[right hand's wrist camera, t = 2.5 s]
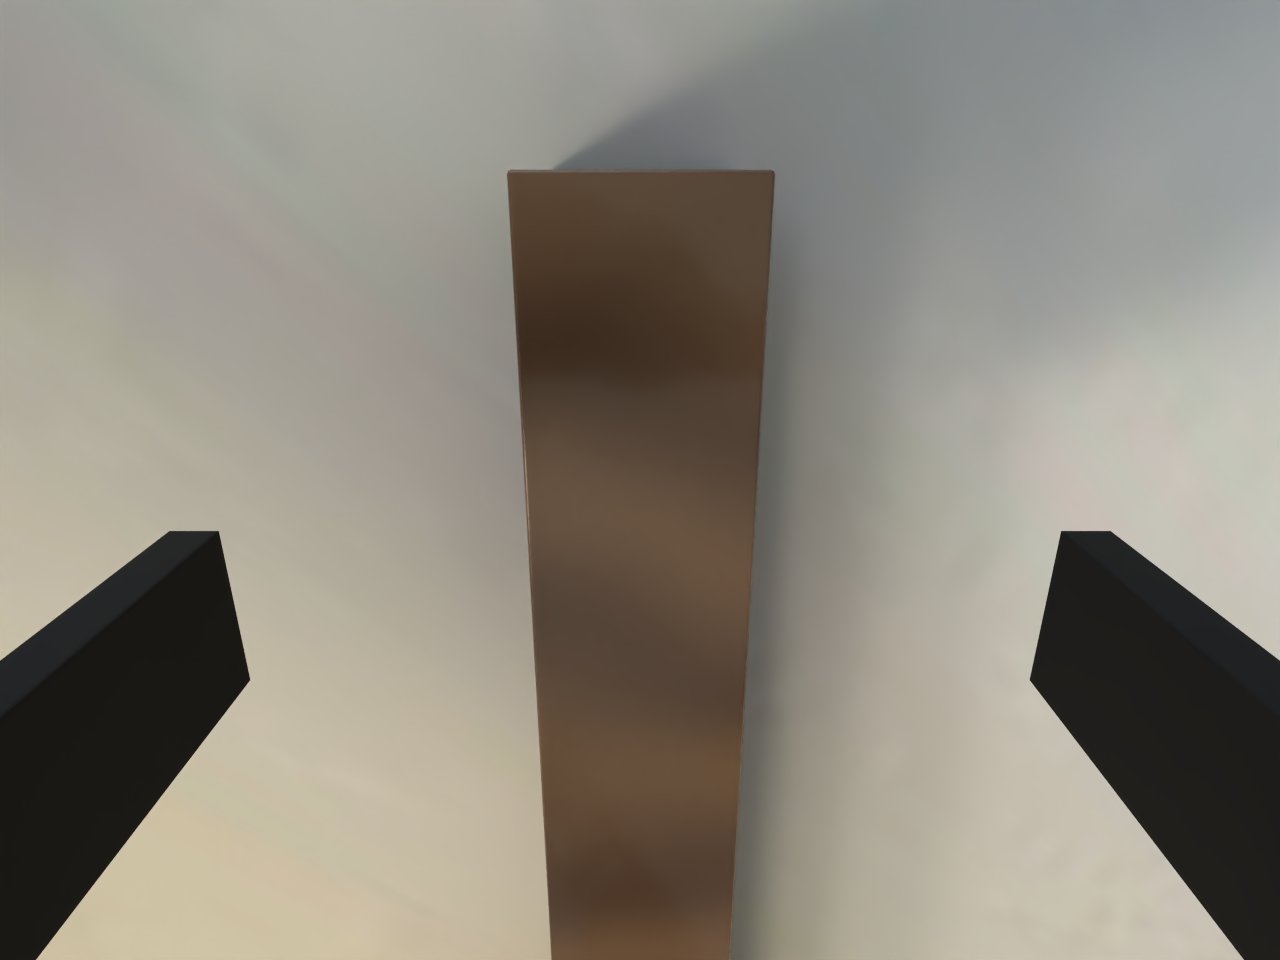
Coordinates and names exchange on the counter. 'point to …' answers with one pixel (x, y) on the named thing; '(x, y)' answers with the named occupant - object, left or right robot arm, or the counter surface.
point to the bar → (640, 538)
